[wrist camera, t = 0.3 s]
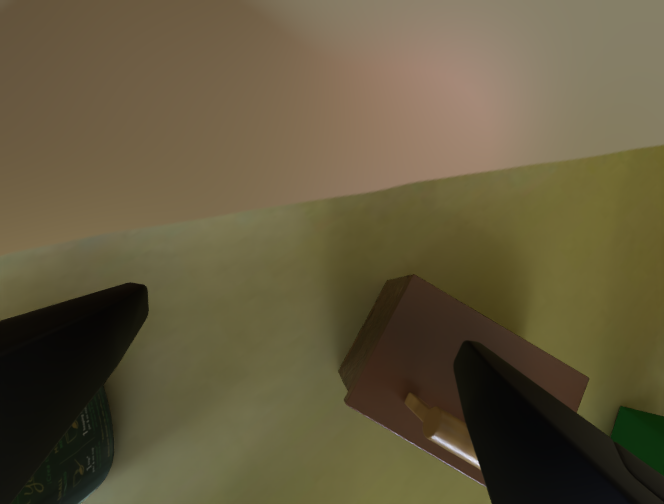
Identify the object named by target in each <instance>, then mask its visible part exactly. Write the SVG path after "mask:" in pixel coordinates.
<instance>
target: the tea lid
mask: <svg viewBox="0 0 664 504" xmlns="http://www.w3.org/2000/svg"><path fill="white" fill-rule="evenodd" d="M465 340H470V341H476V342H480V343H482V344H483V345H484V346H486V347H487V348H488V349H490V350H491V351H492V352H494V353H495V354H497V355H498V356H499V357H501V358H502V359H503V360H505V361H506V362H508V363H509V364H510V365H512V366H513V367H514V368H516V369H517V370H518V371H520V372H521V373H523V374H524V375H525V376H527V377H528V378H529V379H531V380H532V381H534V382H535V383H536V384H538V385H539V386H540V387H542V388H543V389H544V390H546V391H547V392H549V393H550V394H551V395H553V396H554V397H555V398H557V399H558V400H560V401H561V402H562V403H564V404H565V405H566V406H568V407H569V408H570V409H572V410H573V411H575V412H576V413H577V410H578V407H579V405H580V402H581V399H582V397H583V394H584V391H585V389H586V386H587V383H588V381H589V378H588V377H587V376H585V375H583V374H582V373H580V372H578V371H577V370H575V369H573V368H572V367H570V366H568V365H567V364H565V363H563V362H561V361H560V360H558V359H556V358H555V357H553V356H551V355H550V354H548V353H546V352H545V351H543V350H541V349H540V348H538V347H536V346H534V345H533V344H531V343H529V342H528V341H526V340H524V339H523V338H521V337H519V336H518V335H516V334H514V333H512V332H511V331H509V330H507V329H506V328H504V327H502V326H501V325H499V324H497V323H496V322H494V321H492V320H491V319H489V318H487V317H485V316H484V315H482V314H480V313H479V312H477V311H475V310H474V309H472V308H470V307H469V306H467V305H465V304H463V303H462V302H460V301H458V300H457V299H455V298H453V297H452V296H450V295H448V294H447V293H445V292H443V291H442V290H440V289H438V288H436V287H435V286H433V285H431V284H430V283H428V282H426V281H425V280H423V279H421V278H420V277H418V276H416V275H414V274H413V275H409V277H408V279H407V281H406V283H405V284H404V286H403V288H402V290H401V292H400V294H399V296H398V298H397V300H396V302H395V303H394V305H393V307H392V309H391V311H390V313H389V315H388V317H387V319H386V321H385V322H384V324H383V326H382V328H381V330H380V332H379V334H378V336H377V338H376V340H375V341H374V343H373V345H372V347H371V349H370V351H369V353H368V355H367V357H366V358H365V360H364V362H363V364H362V366H361V368H360V370H359V372H358V374H357V376H356V377H355V379H354V381H353V383H352V385H351V387H350V389H349V391H348V393H347V395H346V396H345V398H344V401H345V404H346V405H347V406H349V407H351V408H352V409H354V410H356V411H358V412H359V413H361V414H363V415H364V416H366V417H368V418H369V419H371V420H373V421H375V422H376V423H378V424H380V425H381V426H383V427H385V428H386V429H388V430H390V431H392V432H393V433H395V434H397V435H398V436H400V437H402V438H403V439H405V440H407V441H409V442H410V443H412V444H414V445H415V446H417V447H419V448H420V449H422V450H424V451H426V452H427V453H429V454H431V455H432V456H434V457H436V458H437V459H439V460H441V461H443V462H444V463H446V464H448V465H449V466H451V467H453V468H454V469H456V470H458V471H460V472H461V473H463V474H465V475H466V476H468V477H470V478H471V479H473V480H475V481H477V482H478V483H480V484H482V485H483V486H485V487H486V484H485V481H484V478H483V475H482V472H481V469H480V466H479V463H478V460H477V457H476V454H475V451H474V448H473V445H472V442H471V438H470V435H469V432H468V429H467V426H466V423H465V419H464V415H463V411H462V407H461V402H460V398H459V393H458V388H457V384H456V379H455V375H454V370H453V363H454V360H455V358H456V355H457V353H458V351H459V349H460V347H461V345H462V343H463V342H464V341H465Z"/></svg>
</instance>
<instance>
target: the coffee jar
mask: <svg viewBox="0 0 664 504" xmlns="http://www.w3.org/2000/svg"><path fill="white" fill-rule="evenodd" d="M113 456H114V439H113V429H112V420H111V414H110V410H109V405H108V400H107V397H106V393H105V390H104V387H103V385H102V387H101V388H100V389H99V391H98V392H97V393H96V394H95V396H94V397H93V398H92V400H91V401H90V402H89V403H88V405H87V406H86V407H85V409H84V410H83V411H82V413H81V414H80V415H79V416H78V418H77V419H76V420H75V422H74V423H73V424H72V426H71V427H70V428H69V429H68V431H67V432H66V433H65V435H64V436H63V437H62V438H61V440H60V441H59V442H58V444H57V445H56V446H55V448H54V449H53V450H52V451H51V453H50V454H49V455H48V457H47V458H46V459H45V461H44V462H43V463H42V464H41V466H40V467H39V468H38V470H37V471H36V472H35V473H34V475H33V476H32V477H31V479H30V480H29V481H28V483H27V484H26V485H25V486H24V488H23V489H22V490H21V492H20V493H19V494H18V496H17V497H16V498H15V499H14V501H13V502H12V503H11V504H80V503H81V502H83V501H84V500H85V499H86V498H87V497H88V496H89V495H91V494H92V493H93V492H94V491H95V490H96V489H97V488H98V487H99V486H100V485H101V484H102V482H103V481H104V480H105V478H106V476H107V474H108V472H109V470H110V468H111V465H112V462H113Z"/></svg>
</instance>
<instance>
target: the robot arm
mask: <svg viewBox="0 0 664 504" xmlns="http://www.w3.org/2000/svg"><path fill="white" fill-rule="evenodd" d="M148 311H149V307H148V290H147V287H146V286H145V285H143V284H137V283H131V282H130V283H125V284H122V285H119V286H115V287H112V288H109V289H105V290H102V291H98V292H95V293H92V294H88V295H85V296H82V297H78V298H75V299H72V300H68V301H65V302H62V303H58V304H55V305H52V306H48V307H45V308H42V309H38V310H35V311H32V312H28V313H25V314H21V315H18V316H15V317H11V318H8V319H5V320H1V321H0V504H11V503H12V502H13V501H14V499H15V498H16V497H17V496H18V494H19V493H20V492H21V490H22V489H23V488H24V486H25V485H26V484H27V483H28V481H29V480H30V479H31V477H32V476H33V475H34V473H35V472H36V471H37V470H38V468H39V467H40V466H41V464H42V463H43V462H44V461H45V459H46V458H47V457H48V455H49V454H50V453H51V451H52V450H53V449H54V448H55V446H56V445H57V444H58V442H59V441H60V440H61V438H62V437H63V436H64V435H65V433H66V432H67V431H68V429H69V428H70V427H71V426H72V424H73V423H74V422H75V420H76V419H77V418H78V416H79V415H80V414H81V413H82V411H83V410H84V409H85V407H86V406H87V405H88V403H89V402H90V401H91V400H92V398H93V397H94V396H95V394H96V393H97V392H98V391H99V389H100V388H101V387H102V385H103V384H104V383H105V381H106V380H107V379H108V378H109V376H110V375H111V374H112V372H113V371H114V369H115V368H116V367H117V365H118V364H119V362H120V361H121V359H122V357H123V356H124V354H125V353H126V351H127V349H128V348H129V346H130V344H131V343H132V341H133V340H134V338H135V336H136V335H137V333H138V331H139V330H140V328H141V327H142V325H143V323H144V322H145V320H146V318H147V316H148ZM453 370H454V375H455V379H456V384H457V388H458V393H459V398H460V402H461V407H462V411H463V415H464V419H465V423H466V426H467V429H468V432H469V435H470V438H471V442H472V445H473V448H474V451H475V454H476V457H477V460H478V463H479V466H480V469H481V472H482V475H483V478H484V481H485V484H486V487H487V490H488V493H489V496H490V499H491V502H492V504H664V476H663V475H661V474H660V473H659V472H657V471H656V470H654V469H653V468H652V467H650V466H649V465H647V464H646V463H645V462H643V461H642V460H640V459H639V458H638V457H636V456H635V455H633V454H632V453H631V452H629V451H628V450H627V449H625V448H624V447H623V446H621V445H620V444H618V443H617V442H613V440H612V439H611V438H610V437H609V436H607V435H606V434H605V433H603V432H602V431H601V430H599V429H598V428H596V427H595V426H594V425H592V424H591V423H590V422H588V421H587V420H585V419H584V418H583V417H581V416H580V415H579V414H577V413H576V412H575V411H573V410H572V409H570V408H569V407H568V406H566V405H565V404H564V403H562V402H561V401H560V400H558V399H557V398H555V397H554V396H553V395H551V394H550V393H549V392H547V391H546V390H544V389H543V388H542V387H540V386H539V385H538V384H536V383H535V382H534V381H532V380H531V379H529V378H528V377H527V376H525V375H524V374H523V373H521V372H520V371H518V370H517V369H516V368H514V367H513V366H512V365H510V364H509V363H508V362H506V361H505V360H503V359H502V358H501V357H499V356H498V355H497V354H495V353H494V352H492V351H491V350H490V349H488V348H487V347H486V346H484V345H483V344H482V343H480V342H476V341H470V340H465V341H464V342H463V343H462V345H461V347H460V349H459V351H458V353H457V355H456V358H455V360H454V363H453Z"/></svg>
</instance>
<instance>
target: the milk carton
mask: <svg viewBox="0 0 664 504" xmlns="http://www.w3.org/2000/svg"><path fill="white" fill-rule="evenodd" d="M611 439H612V440H613V442H617V443H618V444H620V445H621V446H623V447H624V448H625V449H627V450H628V451H629V452H631V453H632V454H633V455H635V456H636V457H638V458H639V459H640V460H642V461H643V462H645V463H646V464H647V465H649V466H650V467H652V468H653V469H654V470H656V471H657V472H659V473H660V474H661V475H663V476H664V416H660V415H656V414H652V413H648V412H643V411H639V410H635V409H631V408H627V407H623V406H621V407H620V409H619V413H618V416H617V419H616V422H615V425H614V428H613V431H612V435H611Z"/></svg>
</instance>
